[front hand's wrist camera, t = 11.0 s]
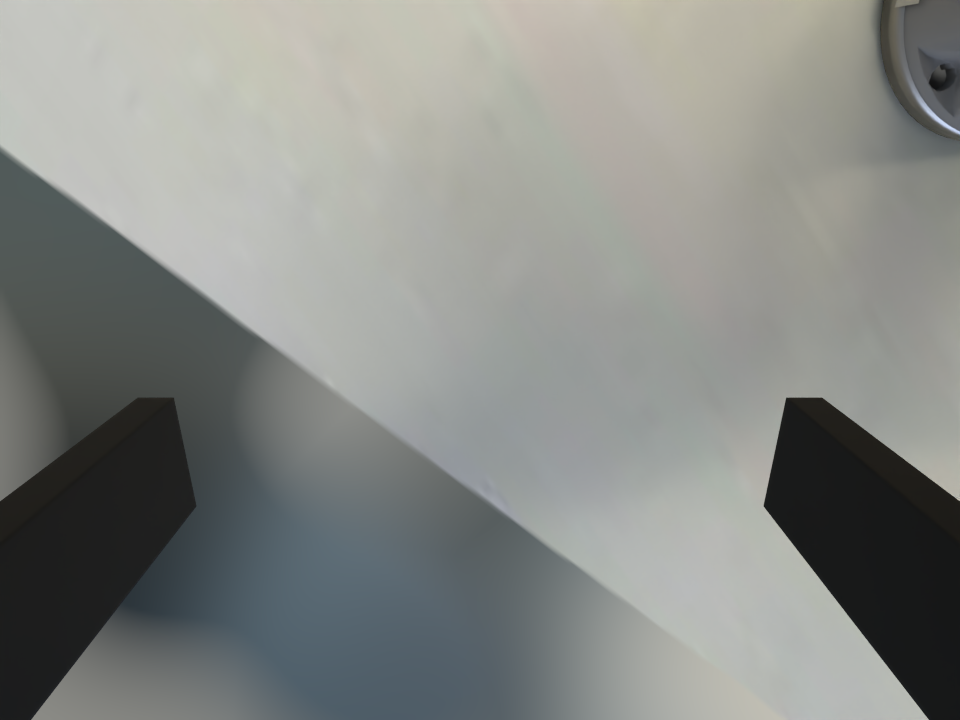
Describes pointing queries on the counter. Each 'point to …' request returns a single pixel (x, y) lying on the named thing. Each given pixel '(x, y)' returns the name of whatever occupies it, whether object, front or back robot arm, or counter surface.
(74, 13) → the counter surface
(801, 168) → the counter surface
